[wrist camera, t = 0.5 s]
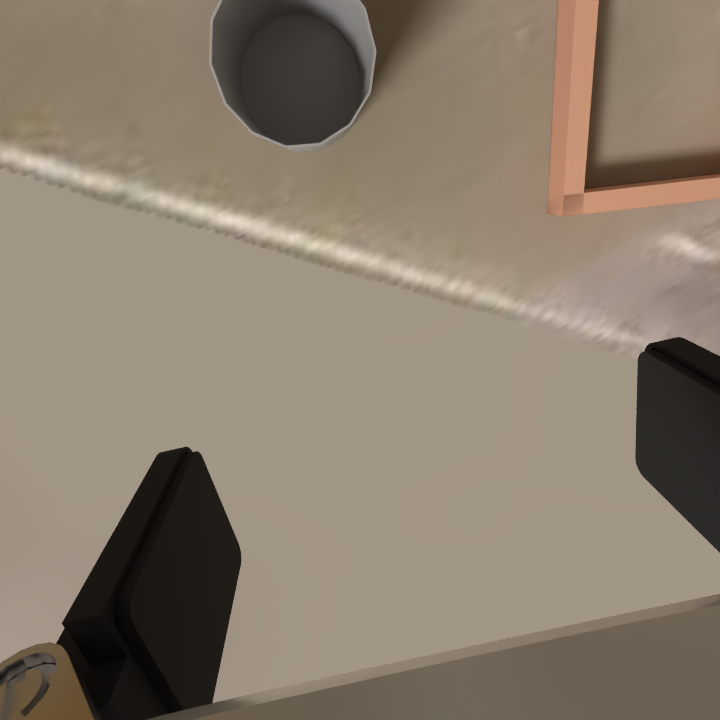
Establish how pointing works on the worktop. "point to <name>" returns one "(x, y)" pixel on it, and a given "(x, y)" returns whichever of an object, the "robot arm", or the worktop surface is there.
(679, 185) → the frame
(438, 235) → the worktop surface
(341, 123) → the cup
